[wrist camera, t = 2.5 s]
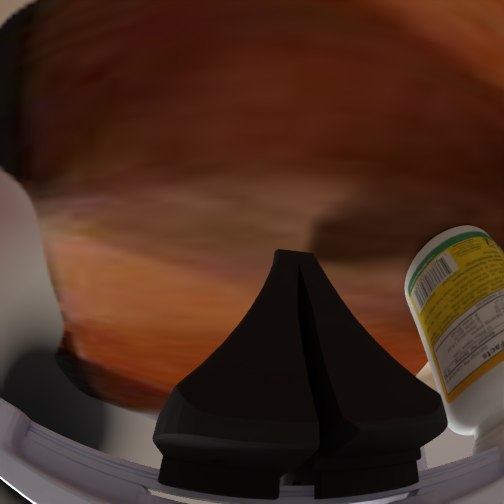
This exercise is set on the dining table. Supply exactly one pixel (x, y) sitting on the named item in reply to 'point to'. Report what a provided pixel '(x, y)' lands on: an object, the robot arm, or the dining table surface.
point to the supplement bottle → (463, 329)
